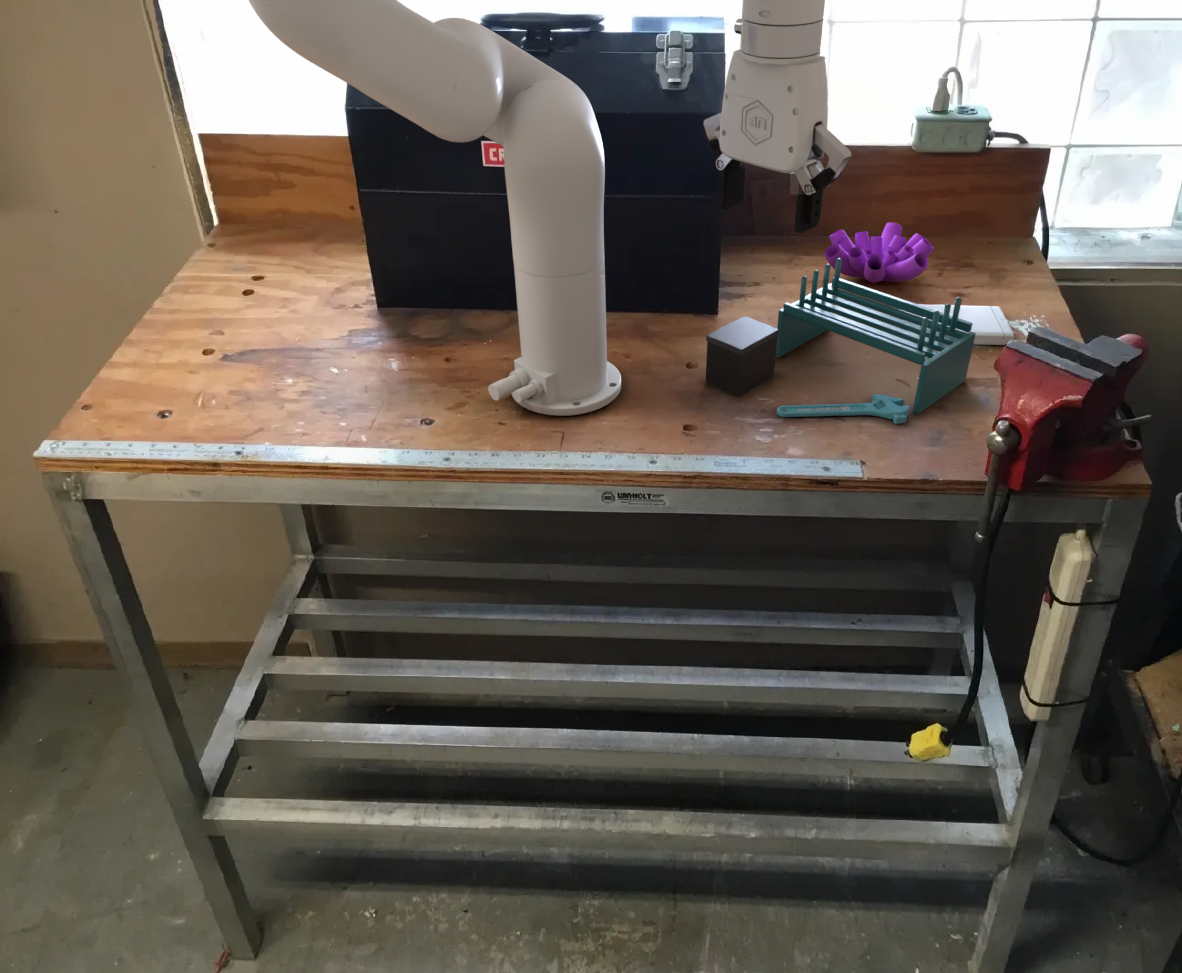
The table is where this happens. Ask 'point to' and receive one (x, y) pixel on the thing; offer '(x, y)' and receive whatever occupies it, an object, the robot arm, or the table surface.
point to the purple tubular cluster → (880, 255)
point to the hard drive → (980, 323)
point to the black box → (741, 355)
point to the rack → (935, 373)
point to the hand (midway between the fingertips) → (767, 216)
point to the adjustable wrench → (852, 409)
